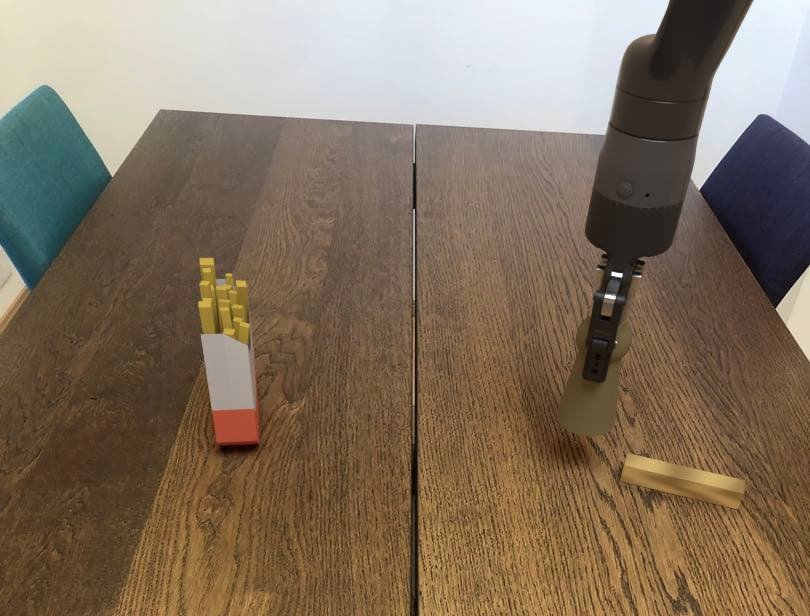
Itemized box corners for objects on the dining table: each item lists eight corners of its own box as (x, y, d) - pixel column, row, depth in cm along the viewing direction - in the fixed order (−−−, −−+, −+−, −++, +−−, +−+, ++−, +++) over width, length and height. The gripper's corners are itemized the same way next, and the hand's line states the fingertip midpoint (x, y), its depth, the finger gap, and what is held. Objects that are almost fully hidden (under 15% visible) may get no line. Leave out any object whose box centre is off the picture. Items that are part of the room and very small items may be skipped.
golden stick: (738, 496, 84) (745, 480, 83) (737, 509, 83) (744, 493, 81) (622, 469, 87) (627, 452, 85) (619, 481, 85) (624, 464, 84)
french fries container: (262, 400, 93) (247, 248, 81) (263, 459, 86) (247, 301, 73) (221, 402, 93) (200, 249, 80) (218, 461, 85) (195, 302, 73)
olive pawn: (594, 444, 80) (618, 345, 73) (543, 418, 83) (562, 320, 75) (626, 418, 84) (653, 321, 76) (577, 394, 86) (597, 298, 79)
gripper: (677, 226, 61) (626, 413, 73) (694, 163, 71) (646, 337, 83) (579, 209, 63) (544, 394, 75) (608, 150, 73) (574, 322, 85)
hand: (598, 363), depth 79 cm, fingers closed on olive pawn, 5 cm apart
